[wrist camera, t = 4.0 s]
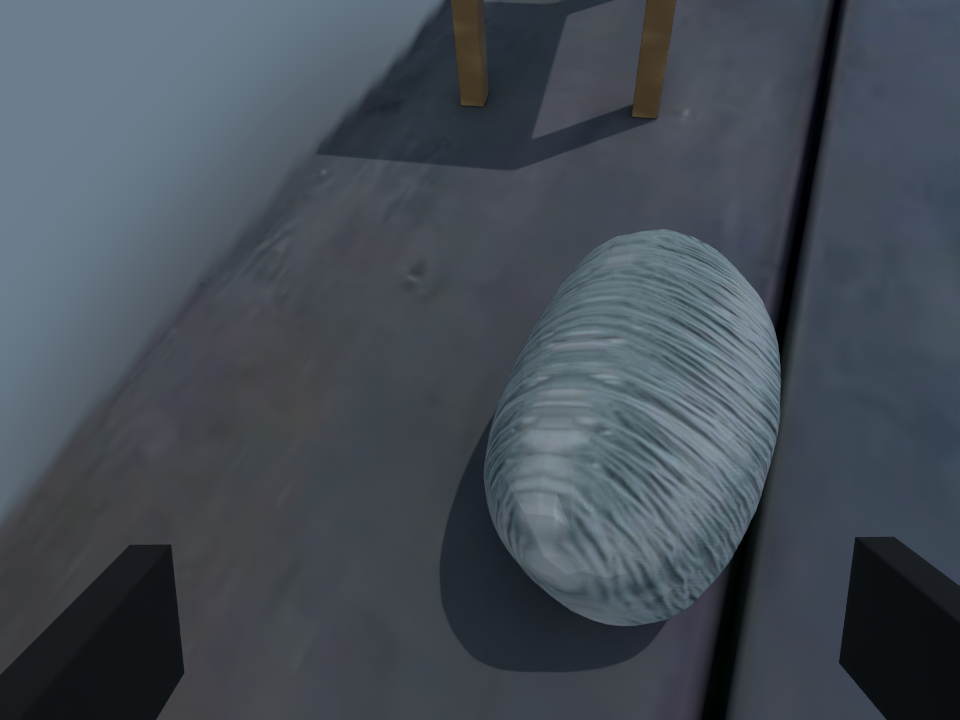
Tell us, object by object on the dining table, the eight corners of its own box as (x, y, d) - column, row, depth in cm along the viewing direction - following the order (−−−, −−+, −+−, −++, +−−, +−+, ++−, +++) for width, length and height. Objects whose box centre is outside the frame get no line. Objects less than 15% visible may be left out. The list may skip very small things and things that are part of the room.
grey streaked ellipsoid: (602, 319, 32) (486, 194, 25) (822, 300, 27) (752, 130, 19) (548, 618, 27) (385, 567, 20) (805, 674, 22) (704, 630, 14)
